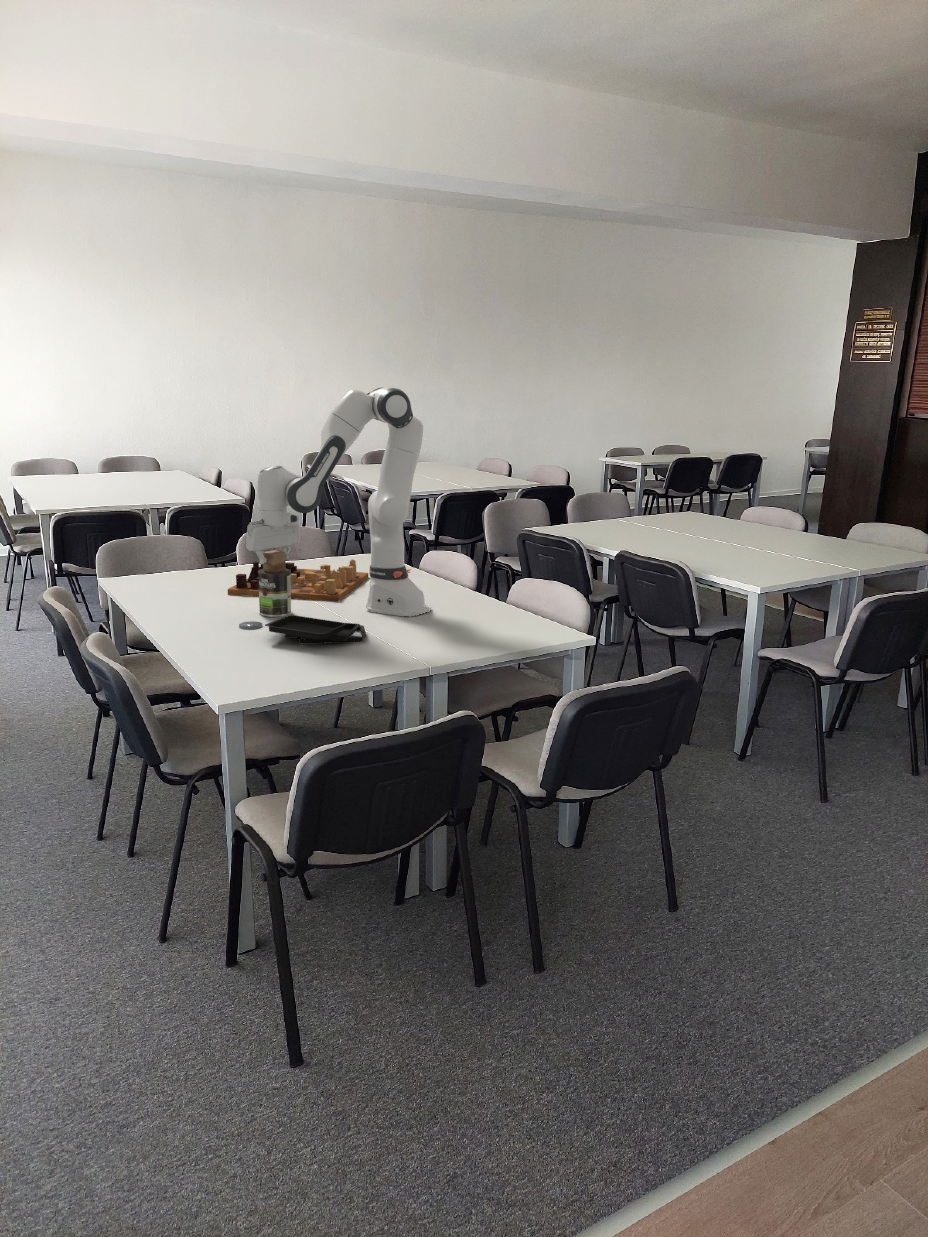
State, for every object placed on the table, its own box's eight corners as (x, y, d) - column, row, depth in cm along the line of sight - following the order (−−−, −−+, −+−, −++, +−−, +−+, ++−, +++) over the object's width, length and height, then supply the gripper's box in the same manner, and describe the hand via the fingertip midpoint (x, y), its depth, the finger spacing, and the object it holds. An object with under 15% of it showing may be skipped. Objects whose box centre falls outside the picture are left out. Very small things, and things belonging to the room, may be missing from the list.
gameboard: (338, 603, 307) (337, 577, 305) (227, 596, 313) (226, 570, 311) (368, 579, 345) (368, 555, 343) (269, 573, 351) (268, 550, 349)
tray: (358, 626, 277) (358, 610, 276) (378, 647, 256) (378, 629, 255) (260, 633, 266) (260, 617, 265) (273, 656, 246) (272, 638, 244)
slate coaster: (267, 627, 274) (267, 624, 274) (249, 631, 269) (249, 628, 269) (251, 623, 278) (251, 620, 278) (234, 627, 273) (233, 624, 272)
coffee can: (278, 618, 283) (276, 575, 279) (252, 614, 287) (251, 571, 284) (298, 612, 292) (297, 569, 288) (273, 607, 296) (272, 566, 293)
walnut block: (285, 570, 287) (285, 552, 285) (274, 572, 283) (273, 554, 281) (274, 568, 289) (274, 550, 288) (263, 570, 285) (262, 552, 284)
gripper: (254, 522, 272) (256, 567, 275) (302, 515, 288) (303, 558, 291) (240, 520, 275) (242, 564, 279) (289, 513, 291) (290, 555, 295)
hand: (274, 561), depth 285 cm, fingers open, 8 cm apart
